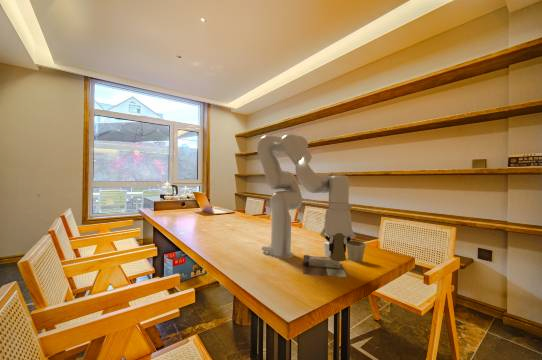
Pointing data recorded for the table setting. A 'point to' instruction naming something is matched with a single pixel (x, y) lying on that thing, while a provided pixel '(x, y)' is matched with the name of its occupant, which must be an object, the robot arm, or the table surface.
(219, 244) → the table surface
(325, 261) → the jaw
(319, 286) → the table surface
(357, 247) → the flower pot
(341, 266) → the board
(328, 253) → the shot glass
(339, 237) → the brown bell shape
